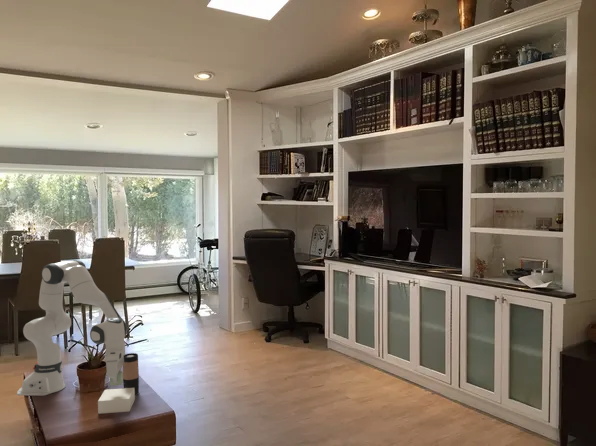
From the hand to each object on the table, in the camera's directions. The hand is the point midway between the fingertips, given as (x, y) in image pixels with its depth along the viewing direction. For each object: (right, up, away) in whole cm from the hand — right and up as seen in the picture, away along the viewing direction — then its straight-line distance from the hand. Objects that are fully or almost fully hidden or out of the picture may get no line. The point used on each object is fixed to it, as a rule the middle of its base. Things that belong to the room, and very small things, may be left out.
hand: (116, 380), depth 235 cm
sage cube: (0, -2, 0) cm, 2 cm away
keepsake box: (0, -13, +1) cm, 13 cm away
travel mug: (+2, -12, +16) cm, 20 cm away
